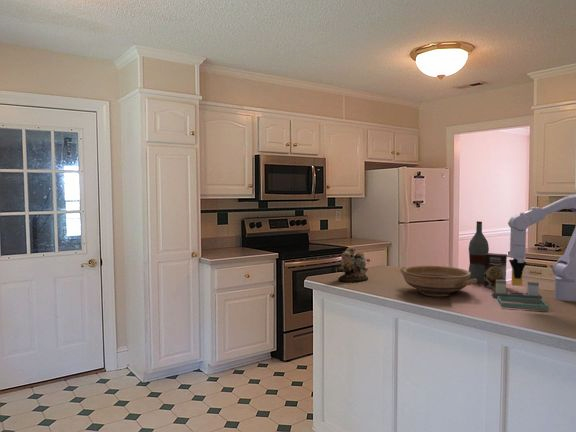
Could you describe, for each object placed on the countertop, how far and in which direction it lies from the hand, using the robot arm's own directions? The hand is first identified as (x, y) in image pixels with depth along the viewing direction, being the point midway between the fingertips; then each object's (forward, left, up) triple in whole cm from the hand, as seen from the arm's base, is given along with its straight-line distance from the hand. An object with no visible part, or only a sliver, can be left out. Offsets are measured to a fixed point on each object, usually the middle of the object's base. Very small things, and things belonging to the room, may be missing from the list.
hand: (517, 277), depth 190 cm
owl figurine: (+72, -23, -10) cm, 76 cm away
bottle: (+12, -36, -10) cm, 39 cm away
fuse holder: (0, 0, -9) cm, 9 cm away
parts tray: (0, +12, -9) cm, 15 cm away
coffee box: (+6, -22, -10) cm, 25 cm away
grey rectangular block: (-6, 0, -8) cm, 10 cm away
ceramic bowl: (+32, -4, -10) cm, 33 cm away
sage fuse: (+6, 0, -8) cm, 10 cm away
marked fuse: (0, 0, -3) cm, 3 cm away
